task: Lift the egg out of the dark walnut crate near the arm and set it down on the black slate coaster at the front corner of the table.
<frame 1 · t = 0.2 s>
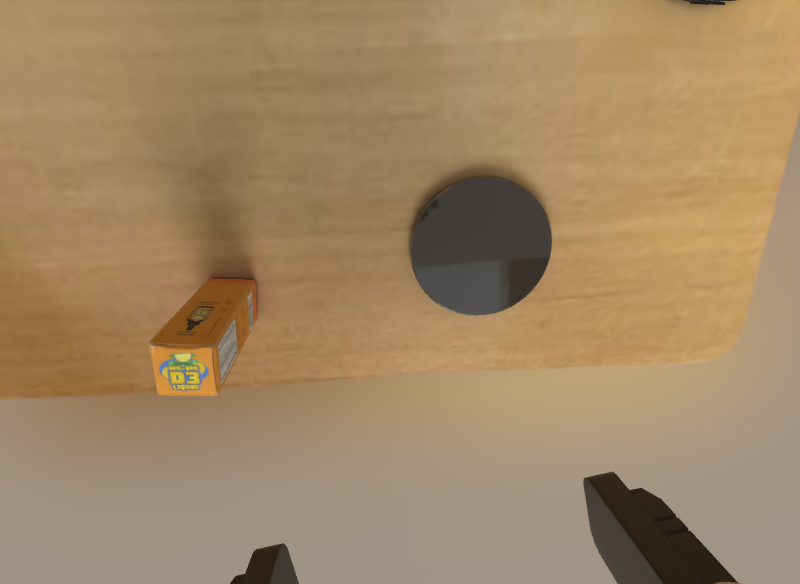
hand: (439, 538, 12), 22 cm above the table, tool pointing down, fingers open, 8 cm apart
supplement box: (236, 299, 33), on the table
coaster: (480, 247, 33), on the table
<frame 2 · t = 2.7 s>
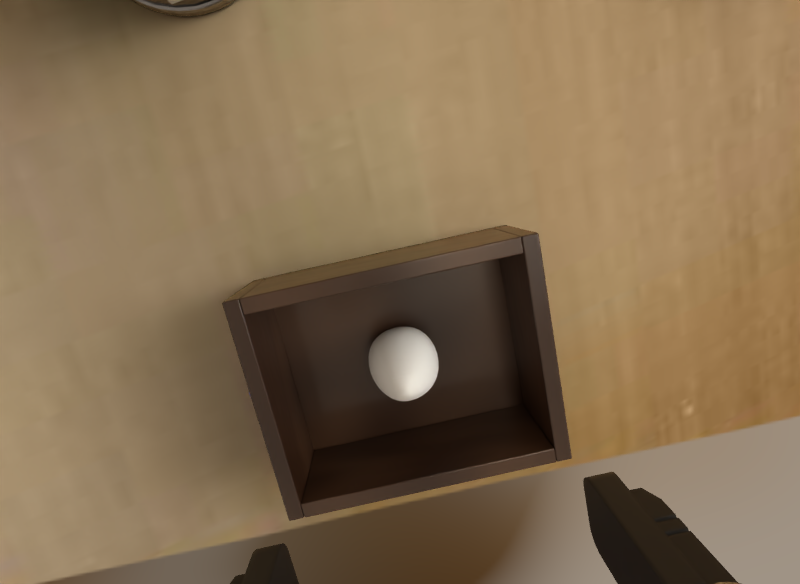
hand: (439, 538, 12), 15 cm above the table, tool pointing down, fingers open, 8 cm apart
egg: (401, 349, 27), resting on crate
crate: (401, 348, 27), on the table
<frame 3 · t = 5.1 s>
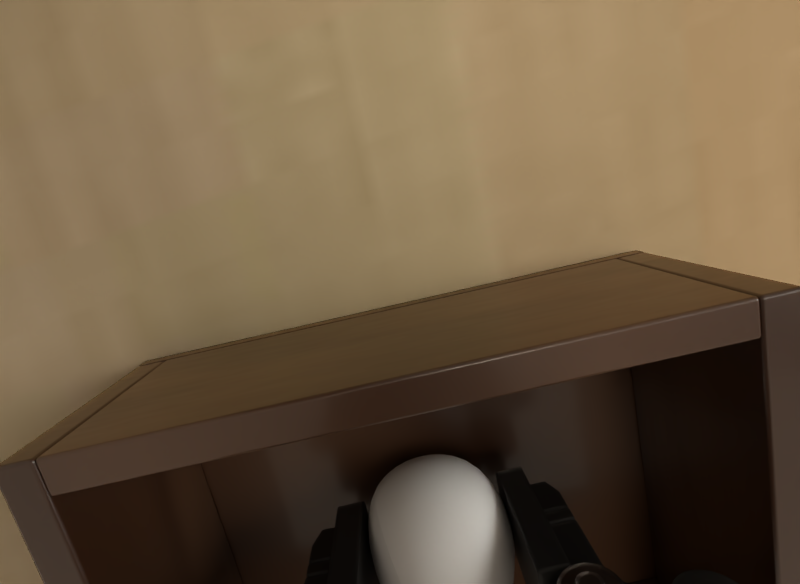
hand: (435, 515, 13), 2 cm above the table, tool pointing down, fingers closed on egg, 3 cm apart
egg: (431, 483, 14), resting on crate, touching gripper
crate: (430, 479, 14), on the table
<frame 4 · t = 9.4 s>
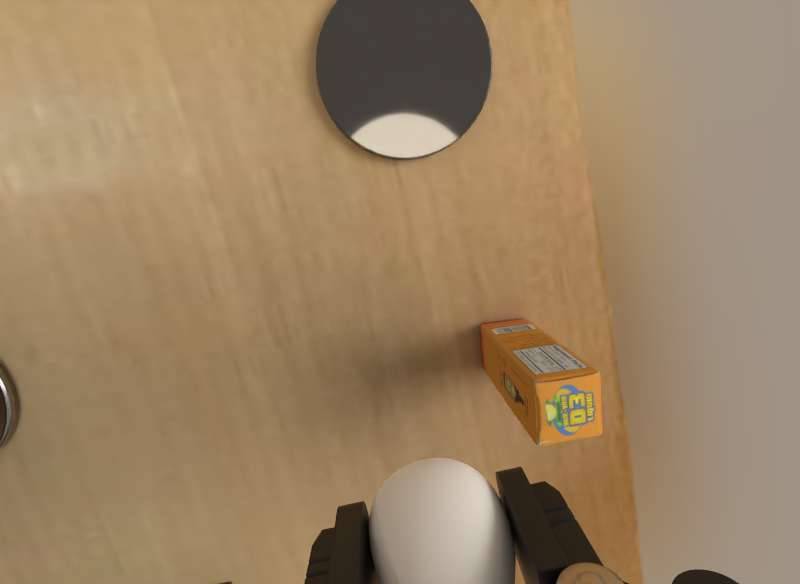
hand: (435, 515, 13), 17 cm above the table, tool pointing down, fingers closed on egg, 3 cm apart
supplement box: (506, 341, 30), on the table
egg: (431, 487, 14), point 16 cm above the table, touching gripper
coaster: (404, 69, 26), on the table
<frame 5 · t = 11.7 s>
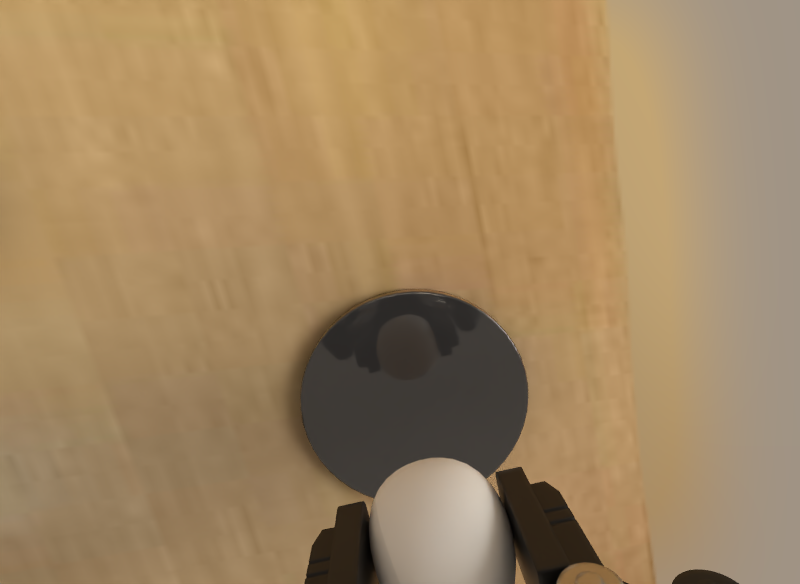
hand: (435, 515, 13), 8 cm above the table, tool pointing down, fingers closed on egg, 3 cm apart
egg: (431, 486, 14), point 6 cm above the table, touching gripper
coaster: (414, 397, 21), on the table
when the fingers open (2 cm above the table, at t = 13.5 s): egg stays where it is, resting on coaster.
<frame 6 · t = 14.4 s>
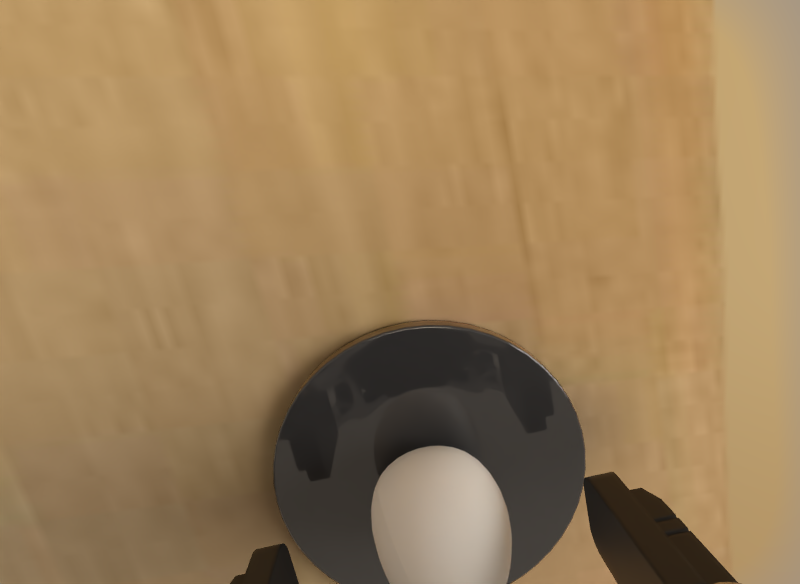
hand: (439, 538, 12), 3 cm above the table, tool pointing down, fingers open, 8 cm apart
egg: (431, 474, 15), resting on coaster
coaster: (429, 465, 15), on the table
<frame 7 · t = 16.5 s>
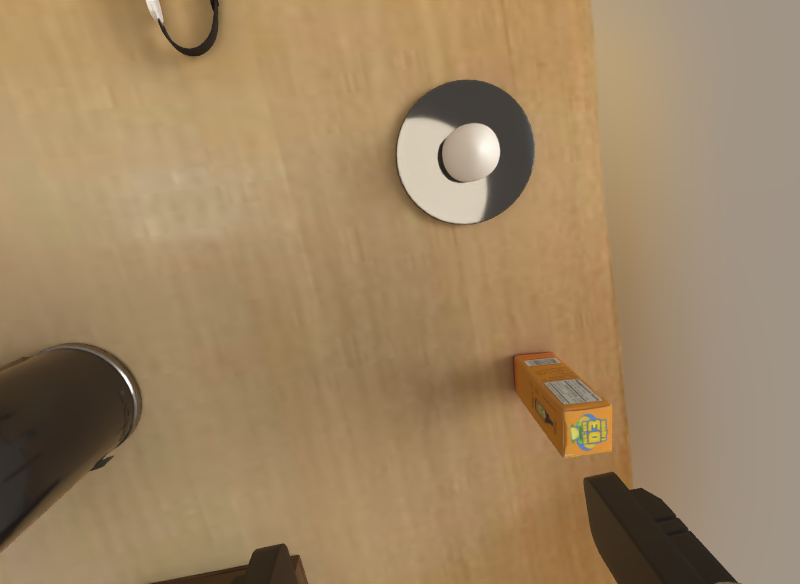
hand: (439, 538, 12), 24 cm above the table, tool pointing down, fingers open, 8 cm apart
supplement box: (534, 369, 37), on the table
watch: (189, 0, 31), on the table
egg: (465, 155, 33), resting on coaster
coaster: (464, 155, 33), on the table
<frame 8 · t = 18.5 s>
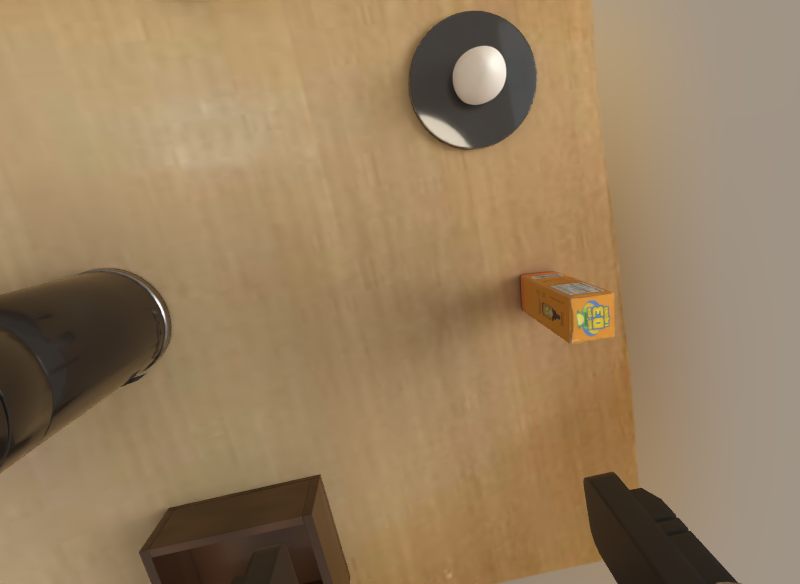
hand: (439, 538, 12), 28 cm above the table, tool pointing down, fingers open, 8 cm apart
supplement box: (538, 289, 40), on the table
egg: (473, 83, 36), resting on coaster
crate: (261, 543, 44), on the table
coaster: (472, 83, 36), on the table
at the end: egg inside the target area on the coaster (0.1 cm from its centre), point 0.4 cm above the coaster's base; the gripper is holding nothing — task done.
